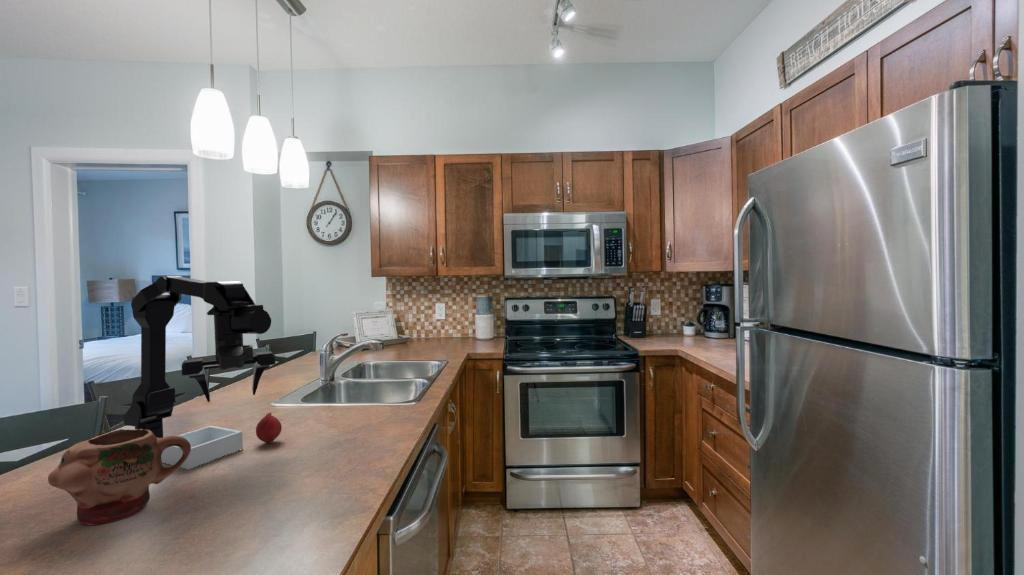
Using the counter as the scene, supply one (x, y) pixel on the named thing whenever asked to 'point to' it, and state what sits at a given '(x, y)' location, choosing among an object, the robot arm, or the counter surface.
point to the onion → (268, 428)
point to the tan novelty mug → (115, 473)
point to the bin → (205, 446)
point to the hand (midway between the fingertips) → (231, 398)
